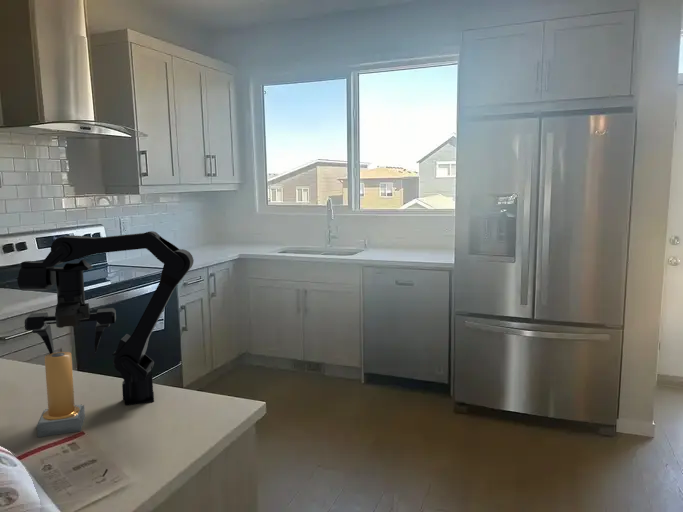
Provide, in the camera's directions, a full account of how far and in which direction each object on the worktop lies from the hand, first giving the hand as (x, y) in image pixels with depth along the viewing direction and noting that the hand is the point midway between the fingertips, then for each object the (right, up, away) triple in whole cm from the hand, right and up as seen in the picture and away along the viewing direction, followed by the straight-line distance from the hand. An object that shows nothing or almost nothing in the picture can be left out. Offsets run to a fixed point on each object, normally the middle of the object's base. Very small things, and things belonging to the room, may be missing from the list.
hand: (74, 354), depth 124 cm
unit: (+3, -13, -12) cm, 18 cm away
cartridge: (+3, -10, -12) cm, 16 cm away
